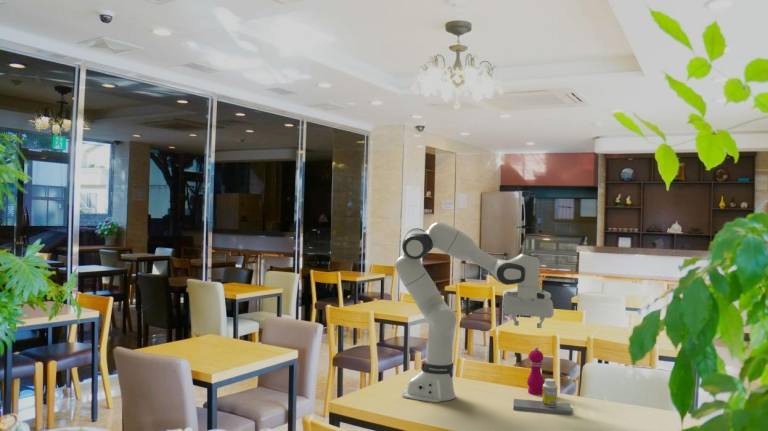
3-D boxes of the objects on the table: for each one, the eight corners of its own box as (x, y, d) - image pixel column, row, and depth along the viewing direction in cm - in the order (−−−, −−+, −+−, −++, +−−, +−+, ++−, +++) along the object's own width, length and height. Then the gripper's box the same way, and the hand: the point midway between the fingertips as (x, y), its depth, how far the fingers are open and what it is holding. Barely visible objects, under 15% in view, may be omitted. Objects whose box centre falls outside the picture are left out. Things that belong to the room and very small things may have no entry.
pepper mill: (544, 396, 255) (545, 349, 255) (527, 394, 256) (528, 348, 256) (543, 391, 262) (544, 345, 262) (526, 390, 263) (527, 344, 263)
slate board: (513, 409, 235) (513, 406, 235) (513, 402, 245) (513, 398, 245) (571, 415, 230) (571, 411, 230) (569, 407, 240) (569, 403, 240)
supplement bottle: (546, 402, 241) (546, 377, 241) (559, 405, 237) (559, 379, 237) (539, 405, 237) (540, 379, 237) (553, 408, 233) (553, 382, 233)
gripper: (501, 291, 248) (500, 325, 248) (551, 295, 238) (550, 330, 238) (506, 290, 253) (505, 322, 253) (554, 294, 243) (554, 328, 243)
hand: (527, 326), depth 245 cm, fingers open, 8 cm apart
